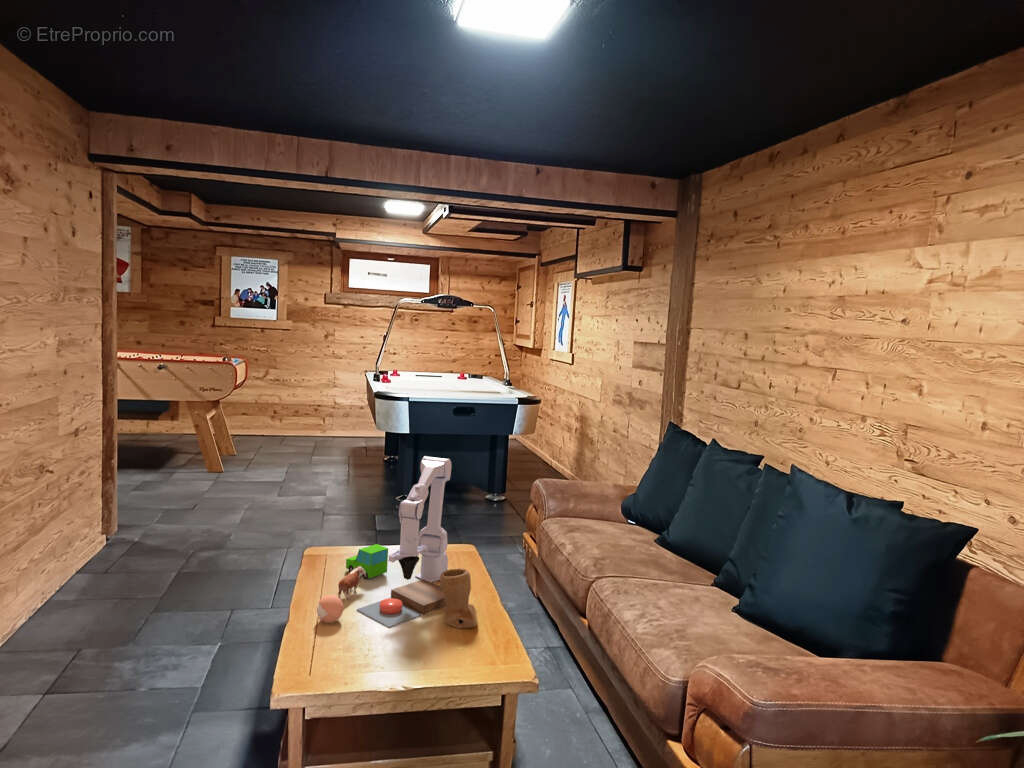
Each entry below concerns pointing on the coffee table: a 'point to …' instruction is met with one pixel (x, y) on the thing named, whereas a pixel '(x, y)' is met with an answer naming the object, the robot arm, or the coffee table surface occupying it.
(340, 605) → the egg
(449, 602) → the brown boot
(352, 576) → the bull figurine
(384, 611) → the red ball
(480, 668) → the coffee table surface
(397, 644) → the coffee table surface
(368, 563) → the toy car
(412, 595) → the board
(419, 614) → the mat
